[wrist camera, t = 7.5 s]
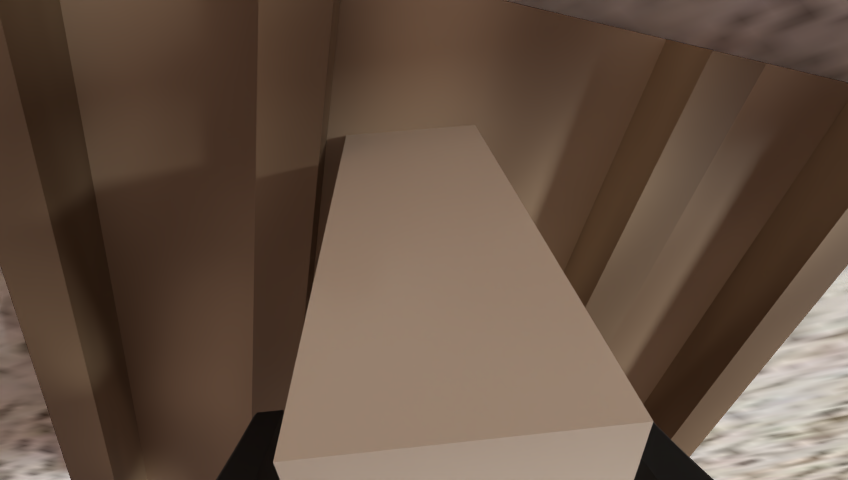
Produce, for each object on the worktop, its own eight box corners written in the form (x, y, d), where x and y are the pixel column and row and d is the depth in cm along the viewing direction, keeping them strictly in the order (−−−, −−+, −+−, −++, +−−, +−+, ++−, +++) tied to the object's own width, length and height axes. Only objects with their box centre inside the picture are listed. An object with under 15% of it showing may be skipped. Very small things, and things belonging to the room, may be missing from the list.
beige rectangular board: (474, 125, 10) (653, 421, 4) (473, 441, 17) (537, 768, 10) (346, 135, 10) (273, 463, 3) (394, 449, 16) (401, 787, 10)
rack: (871, 88, 12) (993, 117, 10) (602, 477, 21) (631, 543, 18) (-27, -127, 8) (-191, -167, 6) (112, 455, 17) (68, 532, 15)
